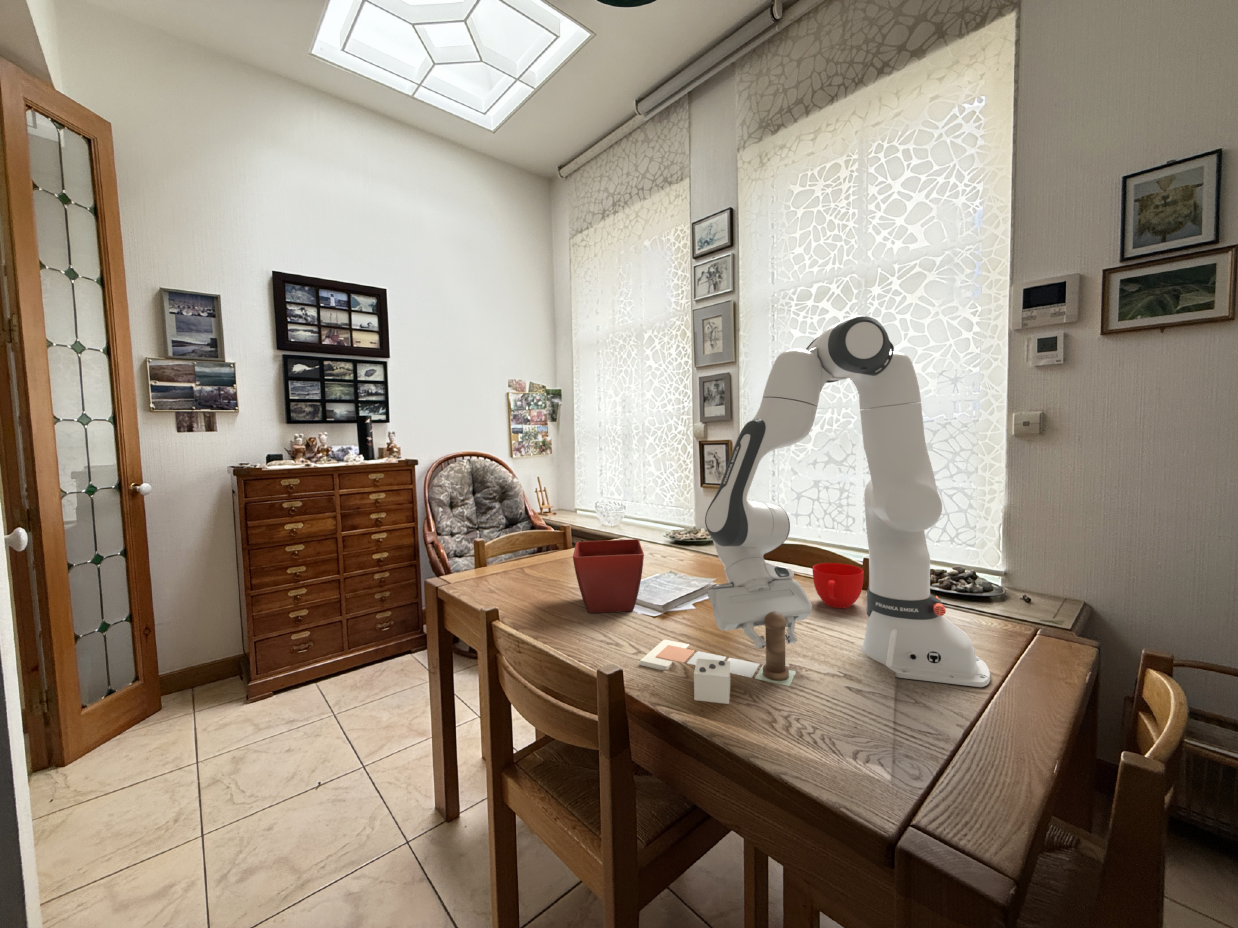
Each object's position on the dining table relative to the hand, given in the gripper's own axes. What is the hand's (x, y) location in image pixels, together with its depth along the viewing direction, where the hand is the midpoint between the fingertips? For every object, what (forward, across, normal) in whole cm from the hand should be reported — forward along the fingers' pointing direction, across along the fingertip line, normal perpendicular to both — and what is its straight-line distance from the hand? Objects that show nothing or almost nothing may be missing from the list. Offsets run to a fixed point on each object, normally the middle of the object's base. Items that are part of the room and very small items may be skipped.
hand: (777, 644), depth 94 cm
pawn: (+4, 0, +5) cm, 6 cm away
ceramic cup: (-17, +38, +28) cm, 50 cm away
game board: (0, -7, +11) cm, 13 cm away
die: (+6, -14, +4) cm, 16 cm away
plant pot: (-32, -20, +43) cm, 58 cm away
